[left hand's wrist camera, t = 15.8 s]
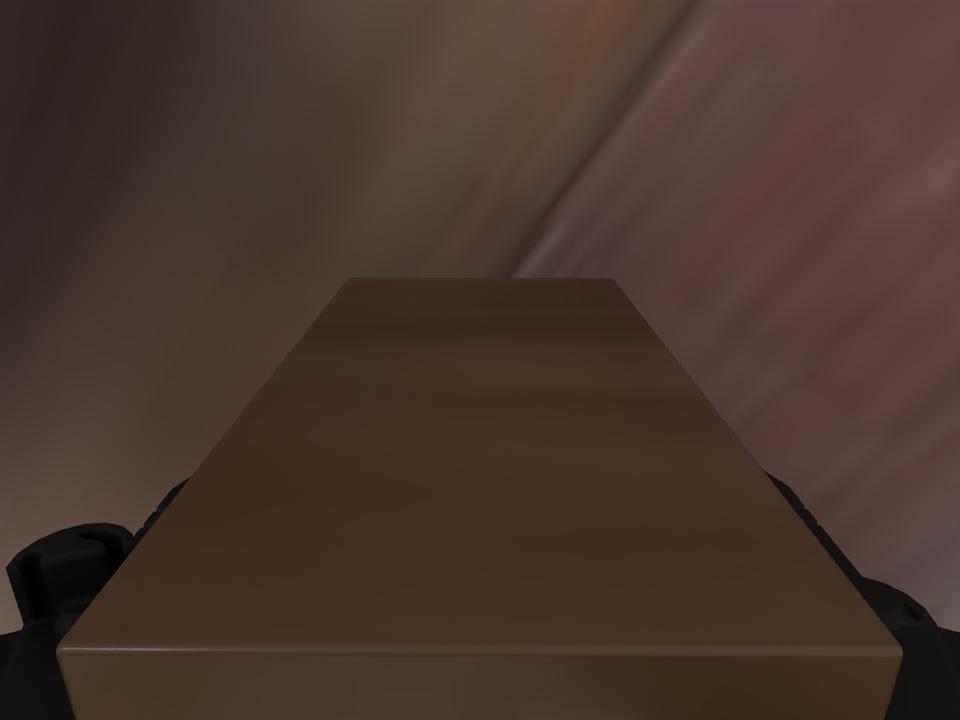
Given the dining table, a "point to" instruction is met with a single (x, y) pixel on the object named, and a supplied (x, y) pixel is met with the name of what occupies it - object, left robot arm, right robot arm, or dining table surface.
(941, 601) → the dining table surface
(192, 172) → the dining table surface
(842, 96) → the dining table surface
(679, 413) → the box
